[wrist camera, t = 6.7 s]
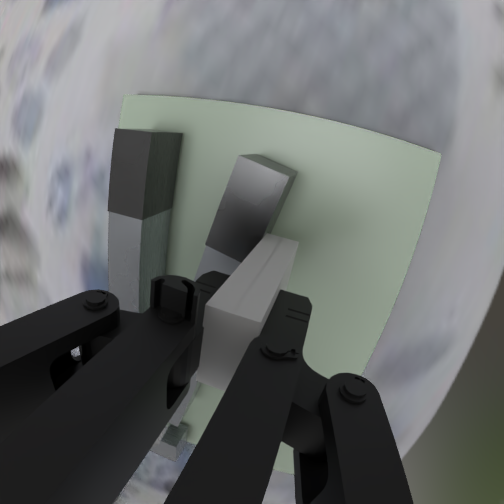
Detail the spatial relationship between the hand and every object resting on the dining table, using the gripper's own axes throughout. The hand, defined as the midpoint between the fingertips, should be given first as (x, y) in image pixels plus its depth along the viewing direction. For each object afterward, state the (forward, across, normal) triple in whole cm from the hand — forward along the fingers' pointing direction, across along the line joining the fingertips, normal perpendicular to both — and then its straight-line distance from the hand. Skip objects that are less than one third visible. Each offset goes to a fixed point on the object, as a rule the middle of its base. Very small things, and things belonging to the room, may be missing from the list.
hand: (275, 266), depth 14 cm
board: (+3, -2, -6) cm, 7 cm away
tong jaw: (+2, -3, -4) cm, 5 cm away
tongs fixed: (+2, -6, -7) cm, 10 cm away
